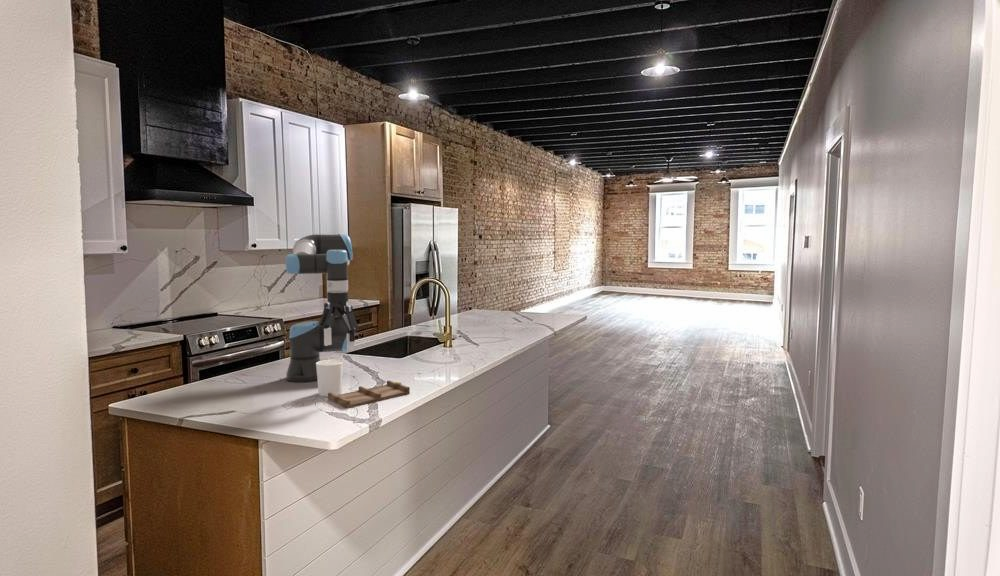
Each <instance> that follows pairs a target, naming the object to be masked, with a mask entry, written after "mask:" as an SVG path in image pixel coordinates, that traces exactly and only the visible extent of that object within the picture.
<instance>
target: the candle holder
mask: <svg viewBox="0 0 1000 576" xmlns="http://www.w3.org/2000/svg"><path fill="white" fill-rule="evenodd" d="M343 367H344V361H343V360H342V359H324V360H320V361H319V362H316V370H317V380H316V381H317V390H318V395H319V396H320V397H327V398H328V393H333V394H335V395H340V394H342V392H343V390H342V389H343V370H344V369H343Z"/></svg>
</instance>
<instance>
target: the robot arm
mask: <svg viewBox="0 0 1000 576" xmlns="http://www.w3.org/2000/svg"><path fill="white" fill-rule="evenodd" d="M351 241H352V240H351V238H350V237H349V235H348V234H340V233H338V234H318V233H317V234H309V235H306V236H303V237H301V238H300V239H298V240H297V241H296V242H294V244H293V247H292V253H290V254H289V253H288V254H287V255H285V270H286V273H287V274H288V275H291V274H292V275H303V274H304V275H307V274H309V275H310V274H311V275H313V274H317V275H318V274H322V275H324V274H326V301H327V302H324V304H323V310H322V313H321V318H320V321H317V320H310V321H309V320H308V321H302V322H298V323H295V324H293V325H291V326H290V328H289V337H288V338H289V356H290V357H289V359H290V360H289V363H288V367H287V370H286V373H285V375H286V381H288V382H293V383H305V382H314V381H317V370H316V362H319V361H321V359H320V358H321V357H320V356H321V355H320V354H321V353H328V352H330V353H333V352H335V353H336V352H345V351H346V352H349V351H353V350H355V340H356V337H355V336H356V333H357V332H359V330H360V328H359V327H358V326H359V325H358V323H357V320H356V316H355V314H354V308H353V305H349V292H348V291H349V277H348V275H349V274H348V273H349V272H348V271H349V270H348V269H349V265H350V263H351V262H350V261H353V258H354V256H353V255H354V254H353V246H352V242H351Z"/></svg>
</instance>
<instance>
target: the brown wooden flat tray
mask: <svg viewBox="0 0 1000 576" xmlns="http://www.w3.org/2000/svg"><path fill="white" fill-rule="evenodd" d="M410 389H411V387H410V386H407V385H404V384H402V382H401V381H391V380H386V384H384V385H377V386H374V387H369V388H368V387H365V386H361V385H360V386H358V390H355V391H350V392H346V393H341V394H339V395H335V394H333V393H328V397H327V400H328V401H330V402H332V403H335V404H337V405H339V406H342V407H344V408H346V409H350V408H354V407H359V406H364V405H368V404H372V403H375V402H380V401H384V400H389V399H393V398H396V397H403V396H405V395H410V393H411V392H410Z"/></svg>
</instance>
